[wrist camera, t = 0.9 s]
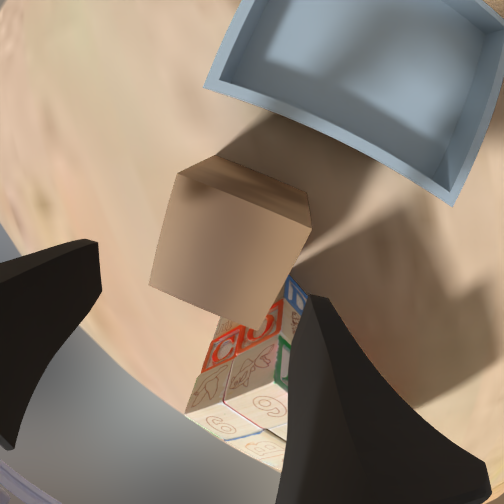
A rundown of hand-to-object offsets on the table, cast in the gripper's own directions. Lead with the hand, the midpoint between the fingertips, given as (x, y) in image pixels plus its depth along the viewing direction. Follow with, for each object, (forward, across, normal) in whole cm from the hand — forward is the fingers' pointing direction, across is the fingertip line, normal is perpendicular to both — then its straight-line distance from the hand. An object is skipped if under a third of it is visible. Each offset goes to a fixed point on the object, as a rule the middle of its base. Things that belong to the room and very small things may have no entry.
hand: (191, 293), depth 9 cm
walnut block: (+10, 0, +1) cm, 10 cm away
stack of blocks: (+10, -10, +13) cm, 19 cm away
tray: (+9, -6, -12) cm, 16 cm away
